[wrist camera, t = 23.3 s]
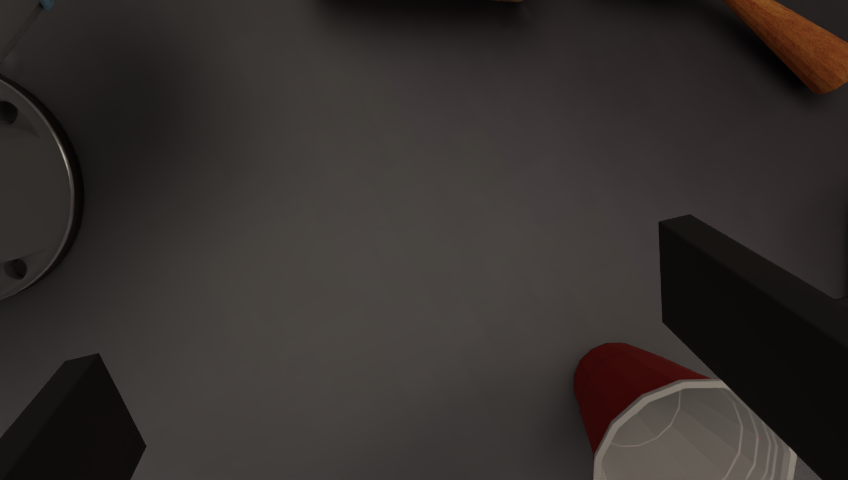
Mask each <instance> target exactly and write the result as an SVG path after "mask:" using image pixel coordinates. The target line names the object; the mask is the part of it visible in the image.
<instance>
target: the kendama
mask: <svg viewBox="0 0 848 480" xmlns="http://www.w3.org/2000/svg"><path fill="white" fill-rule="evenodd" d="M723 1H724V2H725V3H726V4H727V5H728V6H729V7H730V8H731V9H732V10H733V11H734V12H735V13H736V14H737V15H738V16H739V17H740V18H741V19H742V21H743V22H744V23H745V24H746V25H747V26H748V27H749V28H750V29H751V30H752V31H753V32H754V33H755V34H756V35H757V36H758V37H759V38H760V39H761V40H762V41H763V42H764V43H765V44H766V45H767V46H768V47H769V48H770V49H771V50H772V51H773V52H774V53H775V54H776V55H777V56H778V57H779V58H780V59H781V60H782V61H783V62H784V63H785V64H786V65H787V66H788V67H789V69H790V70H791V71H792V72H793V73H794V74H795V75H796V76H797V77H798V78H799V79H800V80H801V81H802V82H803V83H804V84H805V85H806V86H807V87H808V88H809V89H810V90H811V91H812V92H814V93H816V94H825V93H828V92H830V91H833V90H835V89H837V88H838V87H840V86H841V85H843V84H844V83H846V82H847V81H848V43H847V42H845V41H843V40H842V39H840V38H838V37H837V36H835V35H833V34H831V33H830V32H828V31H826V30H824V29H823V28H821V27H819V26H817V25H816V24H814V23H812V22H811V21H809V20H807V19H805V18H804V17H802V16H800V15H798V14H797V13H795V12H793V11H792V10H790V9H788V8H786V7H785V6H783V5H781V4H779V3H778V2H776V1H774V0H723Z"/></svg>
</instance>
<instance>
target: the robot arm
mask: <svg viewBox="0 0 848 480" xmlns="http://www.w3.org/2000/svg"><path fill="white" fill-rule="evenodd" d="M54 2H55V1H54V0H0V63H1V62H2V61H3V60H4V58H5V57H6V56H7V54H8V53H9V52H10V51H11V49H12V48H13V47H14V45H15V44H16V43H17V42H18V40H19V39H20V38H21V36H22V35H23V34H24V33H25V31H26V30H27V29H28V27H29V26H30V25H31V24H32V22H33V21H34V20H35V19H36V17H37V16H38V15H39V13H40V12H41V11H42V10H43V9H44V10H45V11H47V12H48V11H49V10H50V9H51V8H52V7H53V5H54ZM83 206H84V187H83V178H82V173H81V168H80V165H79V162H78V158H77V155H76V153H75V150H74V148H73V145H72V144H71V142H70V140H69V138H68V136H67V134H66V132H65V131H64V129H63V128H62V126H61V125H60V123H59V122H58V121H57V119H56V118H55V117H54V115H53V114H52V113H51V112H50V111H49V110H48V109H47V108H46V106H45V105H44V104H43V103H42V102H40V101H39V100H38V99H37V98H36V97H35V96H34V95H33V94H31V93H30V92H29V91H27V90H26V89H25V88H23V87H22V86H20V85H19V84H17V83H16V82H14V81H12V80H10V79H9V78H7V77H5V76H3V75H1V74H0V300H2V299H4V298H7V297H9V296H12V295H14V294H16V293H19V292H21V291H24V290H26V289H28V288H30V287H32V286H33V285H35V284H37V283H38V282H40V281H41V280H43V279H44V278H45V277H46V276H48V275H49V274H50V273H51V272H52V271H53V270H54V269H55V268H56V267H57V266H58V265H59V264H60V263H61V261H62V260H63V259H64V257H65V256H66V255H67V253H68V251H69V250H70V248H71V247H72V245H73V242H74V240H75V238H76V236H77V233H78V230H79V227H80V224H81V219H82V215H83ZM659 247H660V273H661V298H662V322H663V323H664V324H665V325H666V326H667V327H668V328H669V329H670V330H671V331H672V332H673V333H674V334H675V335H676V336H677V337H678V338H679V339H680V340H681V341H682V342H683V343H684V344H685V345H686V346H687V347H688V348H689V349H690V350H691V351H692V352H693V353H694V354H695V355H696V356H697V357H698V358H699V359H700V360H701V361H702V362H703V363H705V364H706V365H707V366H708V367H709V368H710V369H711V370H712V371H713V372H714V373H715V374H716V375H717V376H718V377H719V378H720V379H721V380H722V381H723V382H724V383H725V384H726V385H727V386H728V387H729V388H730V389H731V390H732V391H733V392H734V393H735V394H736V395H737V396H738V397H739V398H740V399H741V400H742V401H743V402H744V403H745V404H746V405H747V406H748V407H749V408H750V409H751V410H752V411H753V412H754V413H755V414H756V415H757V416H758V417H759V418H760V419H761V420H762V421H763V422H764V423H765V424H766V425H767V426H768V427H769V428H770V429H771V430H772V431H773V432H774V433H775V434H776V435H777V436H778V437H779V438H780V439H781V440H782V441H783V442H784V443H785V444H787V445H788V446H789V447H790V448H791V449H792V450H793V451H794V452H795V453H796V454H797V455H798V456H799V457H800V458H801V459H802V460H803V461H804V462H805V463H806V464H807V465H808V466H809V467H810V468H811V469H812V470H813V471H814V472H815V473H816V474H817V475H818V476H819V477H820V478H821V479H822V480H848V297H845V298H841V299H836V300H835V299H833V298H832V297H830V296H828V295H827V294H825V293H823V292H821V291H820V290H818V289H816V288H815V287H813V286H811V285H810V284H808V283H806V282H804V281H803V280H801V279H799V278H798V277H796V276H794V275H792V274H791V273H789V272H787V271H786V270H784V269H782V268H781V267H779V266H777V265H775V264H774V263H772V262H770V261H769V260H767V259H765V258H764V257H762V256H760V255H758V254H757V253H755V252H753V251H752V250H750V249H748V248H746V247H745V246H743V245H741V244H740V243H738V242H736V241H735V240H733V239H731V238H729V237H728V236H726V235H724V234H723V233H721V232H719V231H718V230H716V229H714V228H712V227H711V226H709V225H707V224H706V223H704V222H702V221H700V220H699V219H697V218H695V217H694V216H692V215H690V214H689V215H685V216H681V217H677V218H672V219H668V220H664V221H660V222H659ZM145 448H146V444H145V443H144V441H143V439H142V437H141V435H140V433H139V431H138V429H137V427H136V425H135V423H134V421H133V419H132V417H131V415H130V413H129V411H128V409H127V407H126V405H125V403H124V401H123V399H122V397H121V396H120V394H119V392H118V390H117V388H116V386H115V384H114V382H113V380H112V378H111V376H110V374H109V372H108V370H107V368H106V366H105V364H104V362H103V360H102V358H101V356H100V354H99V353H98V354H93V355H89V356H85V357H81V358H76V359H72V360H68V361H65V362H64V363H63V364H62V365H61V367H60V368H59V369H58V370H57V371H56V373H55V374H54V375H53V376H52V377H51V379H50V380H49V381H48V382H47V383H46V385H45V386H44V387H43V388H42V389H41V390H40V392H39V393H38V394H37V395H36V396H35V398H34V399H33V400H32V401H31V402H30V404H29V405H28V406H27V407H26V408H25V410H24V411H23V412H22V413H21V414H20V416H19V417H18V418H17V419H16V420H15V422H14V423H13V424H12V425H11V426H10V427H9V429H8V430H7V431H6V432H5V433H4V435H3V436H2V437H1V438H0V480H130V479H131V477H132V475H133V473H134V471H135V469H136V467H137V465H138V463H139V461H140V459H141V456H142V454H143V452H144V450H145Z"/></svg>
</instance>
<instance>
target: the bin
mask: <svg viewBox="0 0 848 480" xmlns="http://www.w3.org/2000/svg"><path fill="white" fill-rule="evenodd" d="M492 1H505V2H518V3H521V2H522V1H523V0H492Z"/></svg>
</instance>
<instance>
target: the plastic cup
mask: <svg viewBox="0 0 848 480" xmlns="http://www.w3.org/2000/svg"><path fill="white" fill-rule="evenodd" d="M574 393H575V396H576V399H577V401H578V404H579V407H580V414H581V417H582V420H583V423H584V426H585V429H586V432H587V435H588V438H589V441H590V444H591V448H592V451H593V454H594V458H593V459H594V471H593V480H793V477H794V471H795V464H796V458H797V454H796V453H795V452H794V451H793V450H792V449H791V448H790V447H789V446H788V445H787V444H785V443H784V442H783V441H782V440H781V439H780V438H779V437H778V436H777V435H776V434H775V433H774V432H773V431H772V430H771V429H770V428H769V427H768V426H767V425H766V424H765V423H764V422H763V421H762V420H761V419H760V418H759V417H758V416H757V415H756V414H755V413H754V412H753V411H752V410H751V409H750V408H749V407H748V406H747V405H746V404H745V403H744V402H743V401H742V400H741V399H740V398H739V397H738V396H737V395H736V394H735V393H734V392H733V391H732V390H731V389H730V388H729V387H728V386H727V385H726V384H725V383H724V382H723V381H722V380H721V379H711V378H708V377H706V376H703V375H700V374H698V373H696V372H693V371H691V370H689V369H687V368H685V367H682V366H680V365H678V364H676V363H674V362H672V361H669V360H667V359H665V358H663V357H660V356H658V355H655V354H652V353H649V352H647V351H644V350H642V349H639V348H637V347H634V346H631V345H628V344H626V343H605V344H603V345H601V346H599V347H596V348H594V349H592V350H591V351H590V352H589V353H588V354H587V355H586V356H584V357H583V358H582V359H581V361H580V363H579V365H578V367H577V369H576V372H575V374H574Z"/></svg>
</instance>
